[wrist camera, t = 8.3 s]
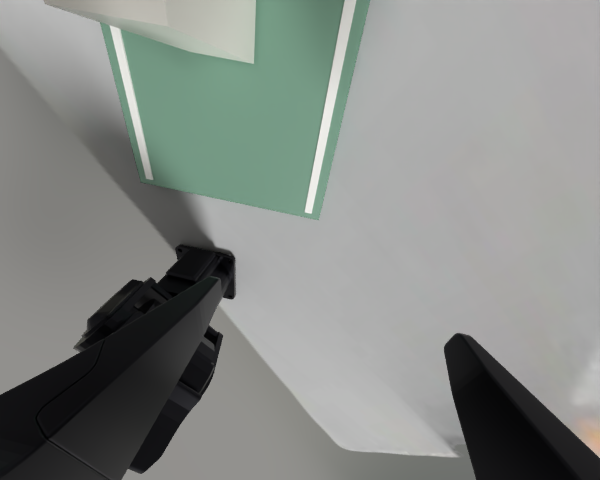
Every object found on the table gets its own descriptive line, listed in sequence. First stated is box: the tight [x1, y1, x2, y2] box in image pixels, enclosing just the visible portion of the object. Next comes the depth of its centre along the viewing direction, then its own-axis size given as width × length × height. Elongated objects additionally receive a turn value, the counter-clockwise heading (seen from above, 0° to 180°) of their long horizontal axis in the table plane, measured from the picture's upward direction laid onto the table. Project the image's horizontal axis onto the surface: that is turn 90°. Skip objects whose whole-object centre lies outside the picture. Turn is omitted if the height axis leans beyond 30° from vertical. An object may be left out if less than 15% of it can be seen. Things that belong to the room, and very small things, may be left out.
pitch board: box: [100, 0, 370, 220], centre depth 13 cm, size 24×16×1 cm, turn 171°
